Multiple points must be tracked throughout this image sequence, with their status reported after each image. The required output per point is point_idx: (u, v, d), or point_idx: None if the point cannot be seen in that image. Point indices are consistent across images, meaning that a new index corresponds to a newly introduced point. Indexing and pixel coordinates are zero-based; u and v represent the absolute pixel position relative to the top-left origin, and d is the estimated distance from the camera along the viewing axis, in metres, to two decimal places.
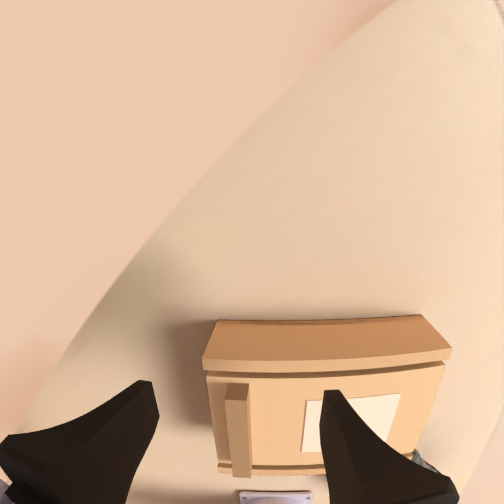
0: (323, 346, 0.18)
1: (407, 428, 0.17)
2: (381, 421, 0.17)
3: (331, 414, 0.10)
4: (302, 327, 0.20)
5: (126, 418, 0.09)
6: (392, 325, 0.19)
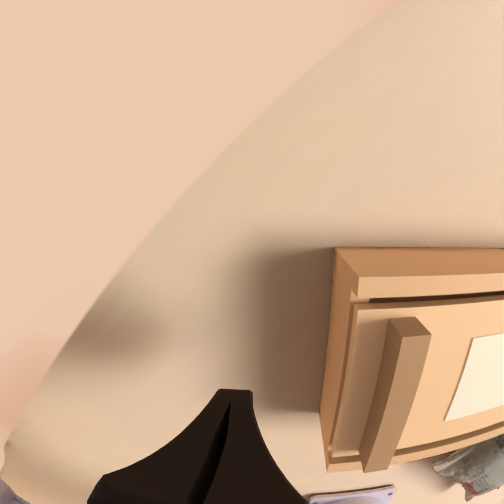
0: (483, 264, 0.12)
1: None
2: None
3: (230, 414, 0.10)
4: (442, 251, 0.14)
5: (221, 432, 0.09)
6: None
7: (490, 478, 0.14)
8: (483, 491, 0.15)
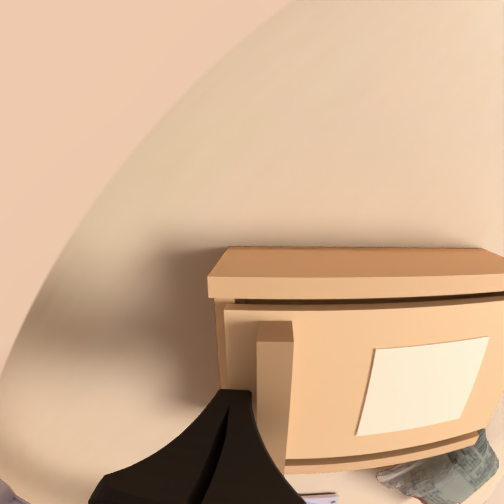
0: (385, 266, 0.12)
1: (487, 392, 0.11)
2: (463, 381, 0.11)
3: (229, 413, 0.10)
4: (347, 251, 0.15)
5: (222, 432, 0.09)
6: (457, 253, 0.14)
7: (444, 494, 0.14)
8: None
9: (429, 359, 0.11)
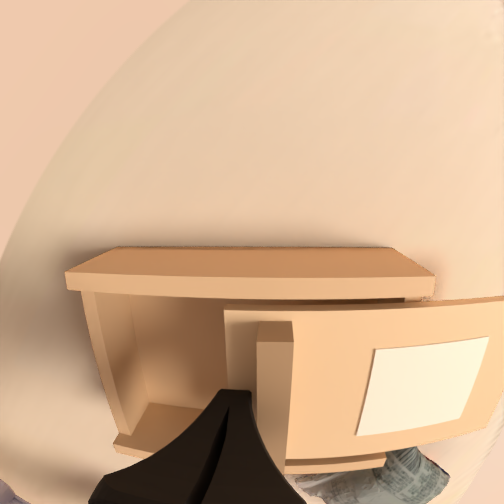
0: (227, 265, 0.12)
1: (487, 392, 0.12)
2: (463, 381, 0.11)
3: (229, 414, 0.10)
4: (213, 251, 0.15)
5: (222, 432, 0.09)
6: (345, 253, 0.14)
7: None
8: None
9: (429, 359, 0.11)
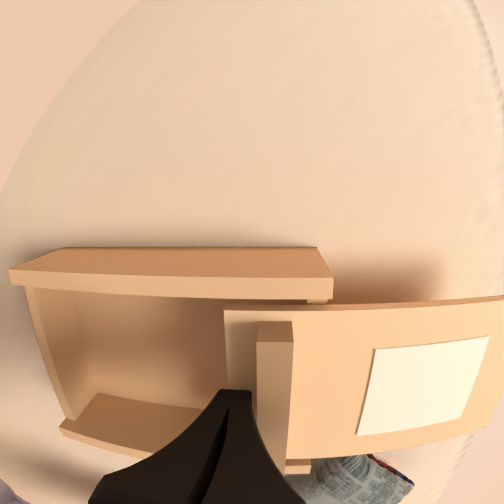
0: (132, 264, 0.13)
1: (487, 391, 0.11)
2: (463, 381, 0.11)
3: (229, 414, 0.10)
4: (135, 251, 0.15)
5: (222, 432, 0.09)
6: (256, 253, 0.15)
7: None
8: None
9: (429, 359, 0.11)
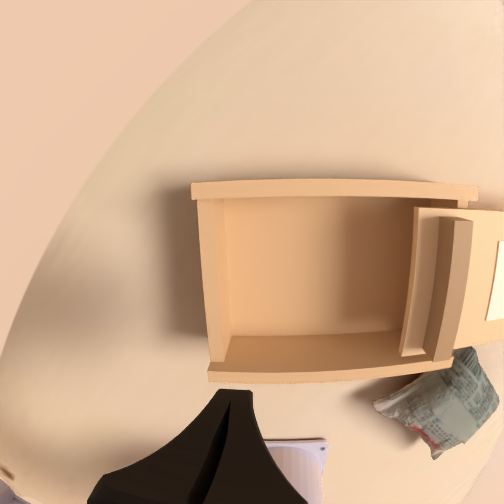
0: None
1: None
2: None
3: (230, 414, 0.10)
4: None
5: (221, 432, 0.09)
6: None
7: (445, 424, 0.17)
8: (444, 443, 0.18)
9: None
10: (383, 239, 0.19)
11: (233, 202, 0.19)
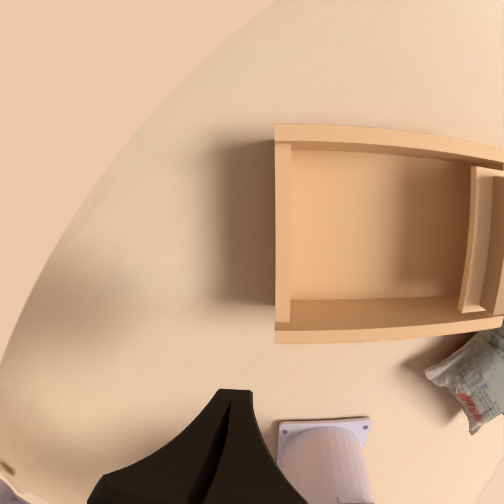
0: None
1: None
2: None
3: (230, 414, 0.10)
4: None
5: (221, 432, 0.09)
6: None
7: (492, 390, 0.17)
8: (487, 413, 0.17)
9: None
10: (435, 203, 0.18)
11: (298, 158, 0.18)
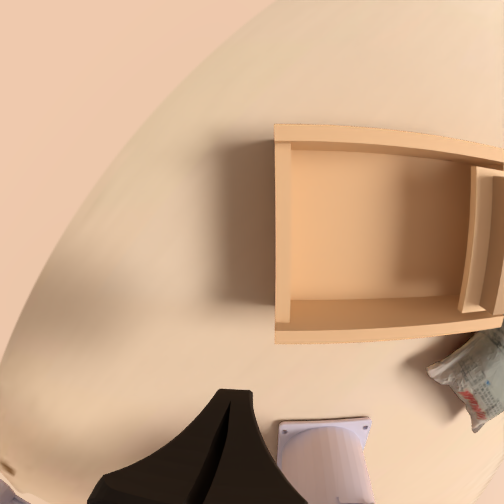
0: None
1: None
2: None
3: (230, 414, 0.10)
4: None
5: (221, 432, 0.09)
6: None
7: (494, 387, 0.17)
8: (490, 411, 0.17)
9: None
10: (435, 203, 0.18)
11: (298, 158, 0.18)
